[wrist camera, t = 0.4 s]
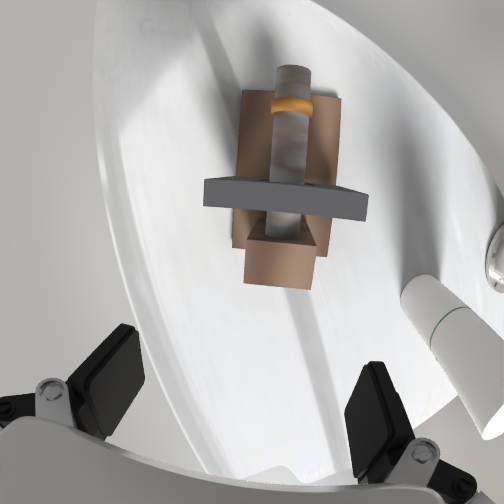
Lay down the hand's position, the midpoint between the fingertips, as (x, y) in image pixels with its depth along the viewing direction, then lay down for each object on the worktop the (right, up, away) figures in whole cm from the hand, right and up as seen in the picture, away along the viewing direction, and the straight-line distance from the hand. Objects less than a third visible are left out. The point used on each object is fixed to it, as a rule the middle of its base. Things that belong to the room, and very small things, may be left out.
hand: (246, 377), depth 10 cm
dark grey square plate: (+4, +12, +21) cm, 24 cm away
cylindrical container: (+25, -2, +25) cm, 36 cm away
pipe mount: (+5, +15, +23) cm, 28 cm away
